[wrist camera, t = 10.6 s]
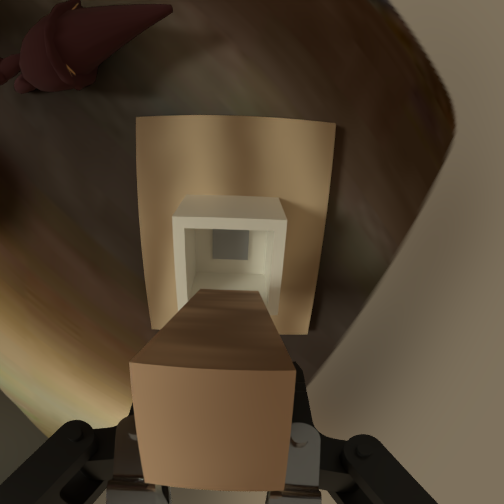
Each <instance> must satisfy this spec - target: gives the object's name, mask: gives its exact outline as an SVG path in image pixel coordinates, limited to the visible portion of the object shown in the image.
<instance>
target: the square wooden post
mask: <svg viewBox="0 0 504 504" xmlns="http://www.w3.org/2000/svg"><path fill="white" fill-rule="evenodd" d="M129 365H130V378H131V389H132V399H133V408H134V416H135V424H136V432H137V439H138V446H139V452H140V458H141V464H142V470H143V475H144V480H145V483H150V484H157V485H164V486H171V487H180V488H190V489H202V490H203V489H204V490H218V491H283V490H284V486H285V478H286V470H287V461H288V453H289V443H290V434H291V424H292V414H293V403H294V392H295V380H296V369H295V367H294V365H293V363H292V360H291V358H290V356H289V354H288V352H287V350H286V348H285V346H284V344H283V342H282V339H281V337H280V335H279V333H278V331H277V329H276V327H275V325H274V323H273V321H272V318H271V316H270V314H269V312H268V310H267V308H266V306H265V304H264V301H263V299H262V297H261V295H260V293H259V291H249V290H219V289H200V290H199V291H198V292H197V293H196V294H195V295H194V296H193V297H192V298H191V299H190V300H189V301H188V302H187V303H186V304H185V305H184V306H183V307H182V308H181V309H180V310H179V311H178V312H177V313H176V314H175V315H174V316H173V317H172V318H171V319H170V320H169V322H168V323H167V324H166V325H165V326H164V327H163V328H162V329H161V330H160V331H159V332H158V333H157V334H156V335H155V336H154V337H153V338H152V339H151V340H150V341H149V342H148V343H147V344H146V345H145V346H144V347H143V349H142V350H141V351H140V352H139V353H138V354H137V355H136V356H135V357H134V358H133V359H132V360H131V361H130V362H129Z"/></svg>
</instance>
